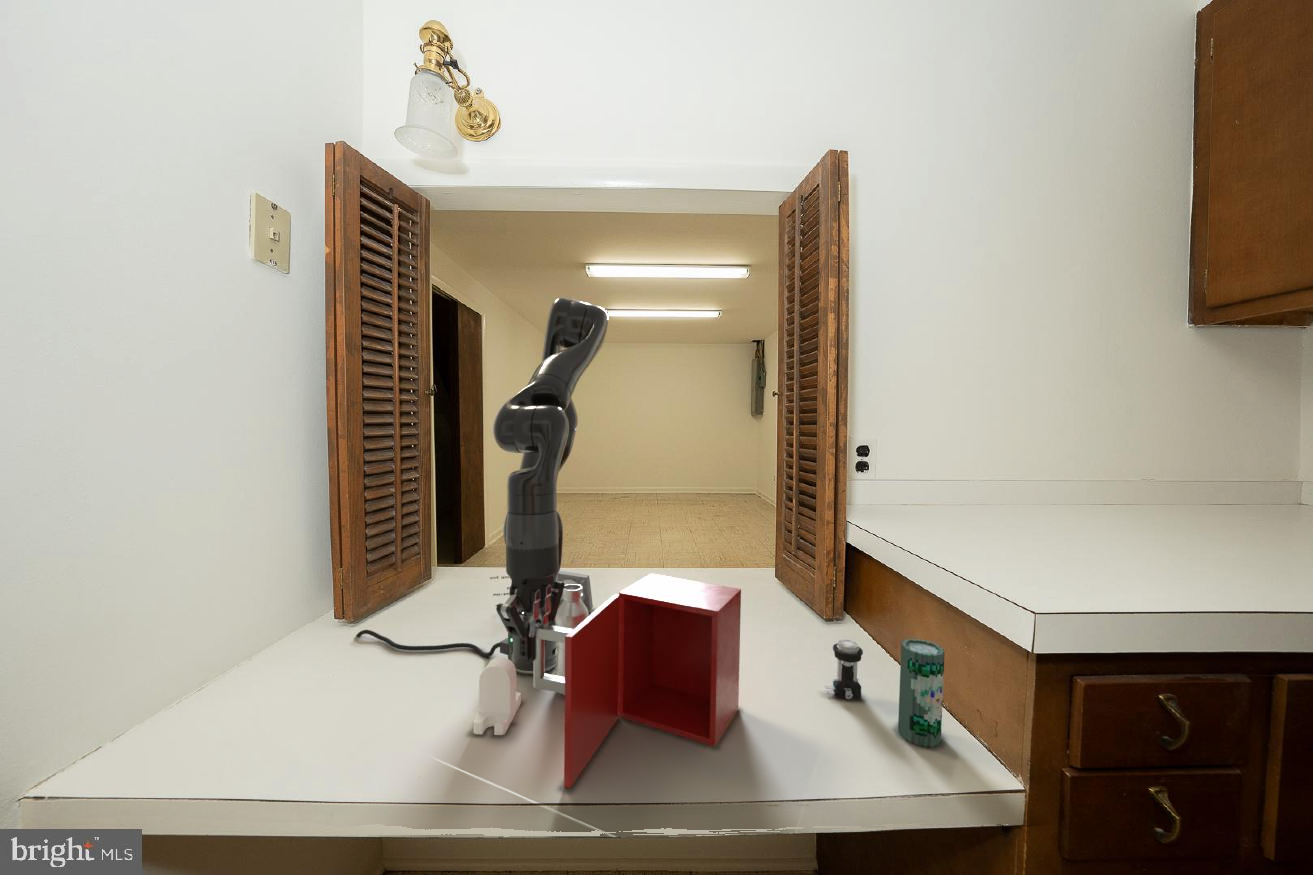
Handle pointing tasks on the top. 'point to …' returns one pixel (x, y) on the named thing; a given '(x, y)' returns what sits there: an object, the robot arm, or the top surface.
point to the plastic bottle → (569, 619)
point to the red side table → (584, 682)
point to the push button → (846, 670)
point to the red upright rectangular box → (679, 656)
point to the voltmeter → (573, 579)
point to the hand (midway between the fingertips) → (533, 656)
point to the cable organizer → (497, 696)
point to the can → (921, 692)
